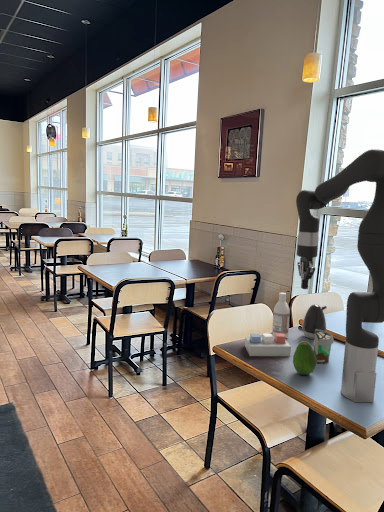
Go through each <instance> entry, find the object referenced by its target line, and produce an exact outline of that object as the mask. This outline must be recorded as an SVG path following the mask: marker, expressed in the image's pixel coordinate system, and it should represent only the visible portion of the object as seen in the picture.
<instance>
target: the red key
mask: <svg viewBox="0 0 384 512" xmlns="http://www.w3.org/2000/svg"><path fill="white" fill-rule="evenodd" d="M285 338H286V336H285V335H284V334H283V333H275V339H274V341H275V343H276V344H285V340H286V339H287V338H286V339H285Z"/></svg>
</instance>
